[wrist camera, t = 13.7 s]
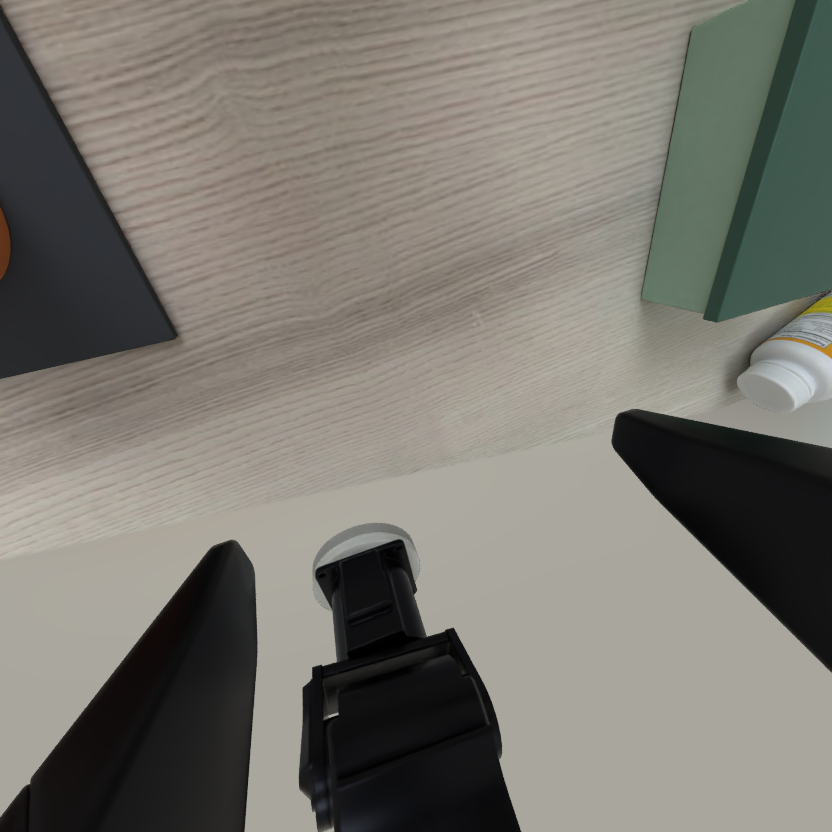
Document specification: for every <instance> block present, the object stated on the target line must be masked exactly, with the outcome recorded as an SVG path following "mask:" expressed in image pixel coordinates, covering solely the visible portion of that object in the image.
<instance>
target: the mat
mask: <svg viewBox="0 0 832 832" xmlns="http://www.w3.org/2000/svg"><path fill="white" fill-rule="evenodd" d="M0 207H1V210H2V212H3V214H4V217H5V220H6V223H7V226H8V230H9V235H10V242H11V253H10V259H9V264H8V267H7V269H6V272H5V274H4V276H3V277H2V279H1V280H0V379H2V378H6V377H11V376H15V375H19V374H24V373H28V372H33V371H37V370H41V369H46V368H50V367H55V366H59V365H63V364H68V363H72V362H77V361H81V360H85V359H90V358H94V357H99V356H103V355H107V354H112V353H116V352H120V351H125V350H129V349H134V348H138V347H142V346H147V345H151V344H156V343H160V342H164V341H169V340H173V339H175V338H176V337H177V336H178V335H177V333H176V331H175V329H174V327H173V325H172V324H171V322H170V320H169V318H168V316H167V314H166V313H165V311H164V309H163V307H162V305H161V303H160V301H159V300H158V298H157V296H156V294H155V292H154V290H153V289H152V287H151V285H150V283H149V281H148V279H147V277H146V276H145V274H144V272H143V270H142V268H141V266H140V264H139V263H138V261H137V259H136V257H135V255H134V253H133V252H132V250H131V248H130V246H129V244H128V242H127V240H126V239H125V237H124V235H123V233H122V231H121V229H120V228H119V226H118V224H117V222H116V220H115V218H114V216H113V215H112V213H111V211H110V209H109V207H108V205H107V203H106V202H105V200H104V198H103V196H102V194H101V192H100V191H99V189H98V187H97V185H96V183H95V181H94V179H93V178H92V176H91V174H90V172H89V170H88V168H87V167H86V165H85V163H84V161H83V159H82V157H81V155H80V154H79V152H78V150H77V148H76V146H75V144H74V143H73V141H72V139H71V137H70V135H69V133H68V131H67V130H66V128H65V126H64V124H63V122H62V120H61V118H60V117H59V115H58V113H57V111H56V109H55V107H54V106H53V104H52V102H51V100H50V98H49V96H48V94H47V93H46V91H45V89H44V87H43V85H42V83H41V82H40V80H39V78H38V76H37V74H36V72H35V70H34V69H33V67H32V65H31V63H30V61H29V59H28V58H27V56H26V54H25V52H24V50H23V48H22V46H21V45H20V43H19V41H18V39H17V37H16V35H15V33H14V32H13V30H12V28H11V26H10V24H9V22H8V21H7V19H6V17H5V15H4V13H3V11H2V9H1V8H0Z"/></svg>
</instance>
